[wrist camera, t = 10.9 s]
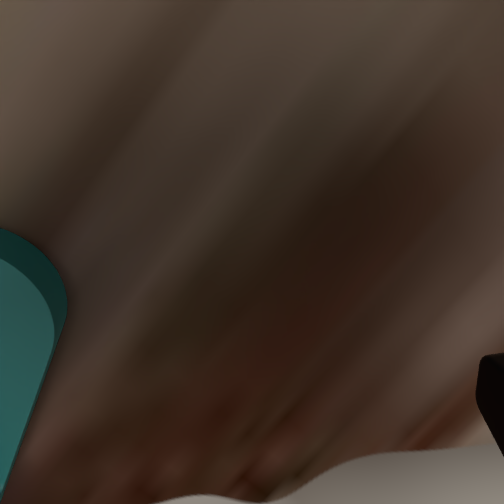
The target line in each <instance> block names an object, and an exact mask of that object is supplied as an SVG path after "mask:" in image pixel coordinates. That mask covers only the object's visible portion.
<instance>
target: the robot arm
mask: <svg viewBox="0 0 504 504" xmlns="http://www.w3.org/2000/svg"><path fill="white" fill-rule="evenodd" d="M476 402H477V405H478V408H479V410H480V412H481V414H482V416H483V418H484V420H485V422H486V423H487V425H488V427H489V429H490V431H491V433H492V435H493V437H494V439H495V441H496V443H497V445H498V447H499V449H500V450H501V452H502V454H503V456H504V353H498V354H491V355H486V356H484V357H482V359H481V360H480V364H479V371H478V378H477V386H476Z"/></svg>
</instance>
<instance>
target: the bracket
mask: <svg viewBox="0 0 504 504" xmlns="http://www.w3.org/2000/svg"><path fill="white" fill-rule="evenodd" d="M66 315H67V296H66V291H65V287H64V285H63V282H62V279H61V277H60V276H59V274H58V272H57V270H56V269H55V267H54V266H53V264H52V263H51V262H50V261H49V259H48V258H47V257H46V256H45V255H44V254H43V253H42V252H41V251H40V250H39V249H37V248H36V247H35V246H34V245H32V244H31V243H29V242H28V241H26V240H25V239H23V238H21V237H20V236H18V235H16V234H14V233H12V232H9V231H7V230H4V229H1V228H0V502H1V499H2V497H3V494H4V491H5V488H6V485H7V483H8V480H9V477H10V474H11V471H12V469H13V466H14V463H15V460H16V457H17V455H18V452H19V449H20V446H21V443H22V441H23V438H24V435H25V432H26V429H27V427H28V424H29V421H30V418H31V415H32V413H33V410H34V407H35V404H36V401H37V399H38V396H39V393H40V390H41V387H42V385H43V382H44V379H45V376H46V374H47V371H48V368H49V365H50V362H51V360H52V357H53V354H54V351H55V348H56V346H57V343H58V340H59V337H60V334H61V332H62V329H63V326H64V323H65V319H66Z"/></svg>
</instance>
